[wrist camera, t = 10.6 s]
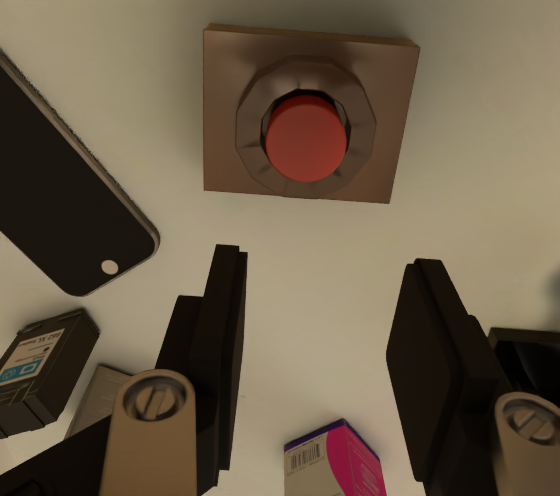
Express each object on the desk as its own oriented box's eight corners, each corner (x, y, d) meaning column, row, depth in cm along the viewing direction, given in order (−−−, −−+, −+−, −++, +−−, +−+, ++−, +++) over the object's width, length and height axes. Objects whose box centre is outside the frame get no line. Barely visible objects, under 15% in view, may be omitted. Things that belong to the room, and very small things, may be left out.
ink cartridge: (84, 305, 34) (32, 396, 27) (102, 331, 35) (56, 424, 28) (22, 325, 35) (-44, 418, 28) (40, 349, 36) (-19, 444, 29)
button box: (411, 39, 25) (430, 53, 22) (383, 187, 29) (395, 219, 26) (209, 23, 25) (196, 34, 22) (209, 175, 29) (198, 205, 26)
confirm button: (348, 97, 23) (352, 107, 22) (337, 171, 25) (340, 185, 24) (269, 91, 23) (267, 100, 22) (264, 166, 25) (263, 179, 23)
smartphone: (74, 304, 33) (-131, 109, 27) (78, 298, 34) (-122, 105, 27) (167, 249, 31) (-34, 22, 24) (169, 243, 31) (-26, 20, 25)
